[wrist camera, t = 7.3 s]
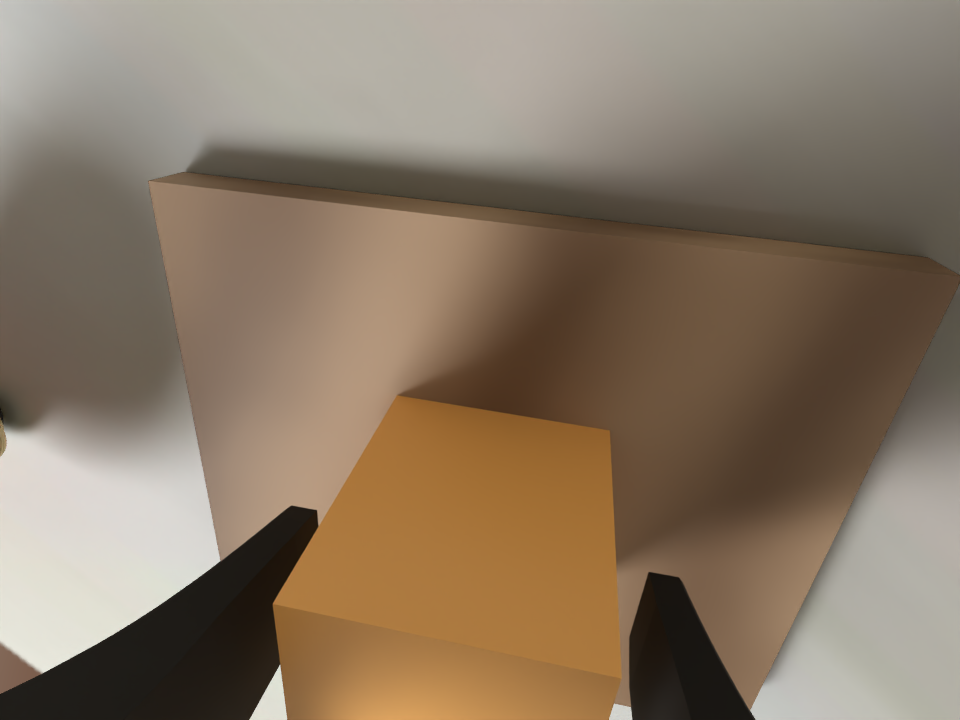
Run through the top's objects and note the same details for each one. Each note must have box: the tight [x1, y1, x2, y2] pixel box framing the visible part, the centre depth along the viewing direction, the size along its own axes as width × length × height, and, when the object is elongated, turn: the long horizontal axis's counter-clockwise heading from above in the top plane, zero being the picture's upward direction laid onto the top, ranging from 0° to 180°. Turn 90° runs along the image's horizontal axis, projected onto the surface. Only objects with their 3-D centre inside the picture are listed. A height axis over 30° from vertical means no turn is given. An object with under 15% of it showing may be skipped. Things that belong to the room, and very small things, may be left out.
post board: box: [148, 172, 960, 710], centre depth 13 cm, size 16×14×6 cm
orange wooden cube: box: [273, 395, 622, 720], centre depth 12 cm, size 5×5×6 cm
